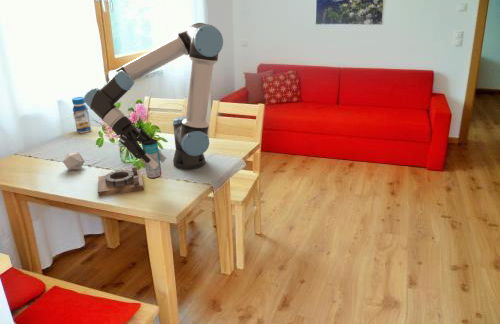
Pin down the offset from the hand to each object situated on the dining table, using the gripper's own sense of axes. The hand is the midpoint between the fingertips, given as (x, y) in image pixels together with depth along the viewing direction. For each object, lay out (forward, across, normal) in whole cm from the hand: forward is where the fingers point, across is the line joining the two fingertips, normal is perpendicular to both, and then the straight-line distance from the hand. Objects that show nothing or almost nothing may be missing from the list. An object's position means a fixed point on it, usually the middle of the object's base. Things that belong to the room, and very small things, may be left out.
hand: (160, 163), depth 164 cm
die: (-29, -12, -47) cm, 57 cm away
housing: (-7, -3, -25) cm, 26 cm away
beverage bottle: (-52, -62, -71) cm, 108 cm away
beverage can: (+2, 0, -7) cm, 7 cm away
